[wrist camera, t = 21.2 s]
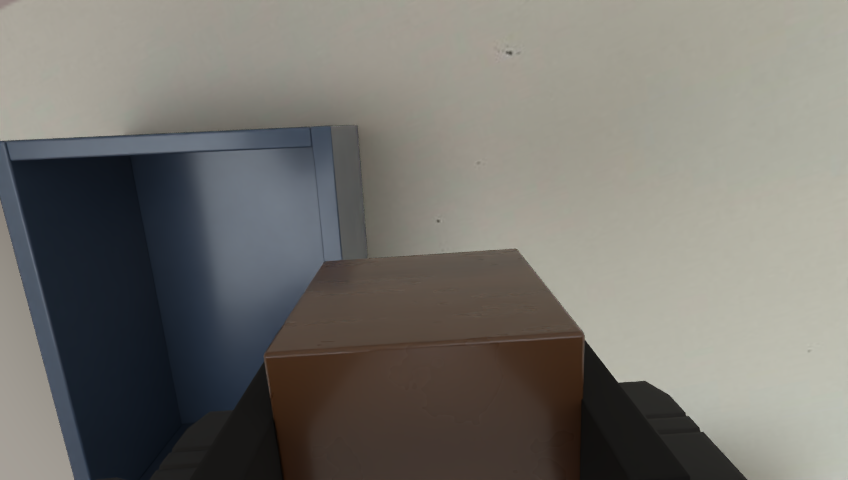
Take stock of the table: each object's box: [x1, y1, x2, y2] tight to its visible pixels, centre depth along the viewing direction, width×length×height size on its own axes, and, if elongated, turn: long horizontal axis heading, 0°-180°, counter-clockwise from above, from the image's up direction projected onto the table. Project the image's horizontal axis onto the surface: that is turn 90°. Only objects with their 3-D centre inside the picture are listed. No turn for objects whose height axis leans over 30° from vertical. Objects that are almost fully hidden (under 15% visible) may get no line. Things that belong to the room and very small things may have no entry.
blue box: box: [0, 125, 368, 480], centre depth 25 cm, size 19×14×9 cm
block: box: [264, 249, 585, 480], centre depth 10 cm, size 5×5×5 cm
